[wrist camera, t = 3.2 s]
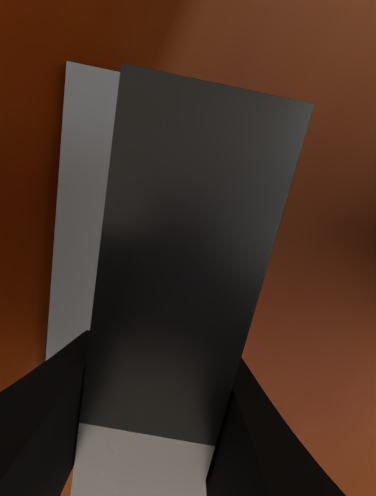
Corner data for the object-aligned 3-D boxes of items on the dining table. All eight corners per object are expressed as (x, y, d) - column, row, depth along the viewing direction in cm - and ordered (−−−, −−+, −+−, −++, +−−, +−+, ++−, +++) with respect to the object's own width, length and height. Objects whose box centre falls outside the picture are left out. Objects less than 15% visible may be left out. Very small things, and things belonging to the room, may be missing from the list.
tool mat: (241, 99, 15) (243, 98, 14) (173, 405, 20) (172, 411, 20) (70, 63, 14) (66, 60, 14) (47, 383, 20) (43, 389, 19)
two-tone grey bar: (265, 122, 8) (314, 103, 5) (171, 498, 12) (161, 631, 9) (152, 98, 8) (120, 62, 5) (95, 485, 12) (56, 615, 9)
